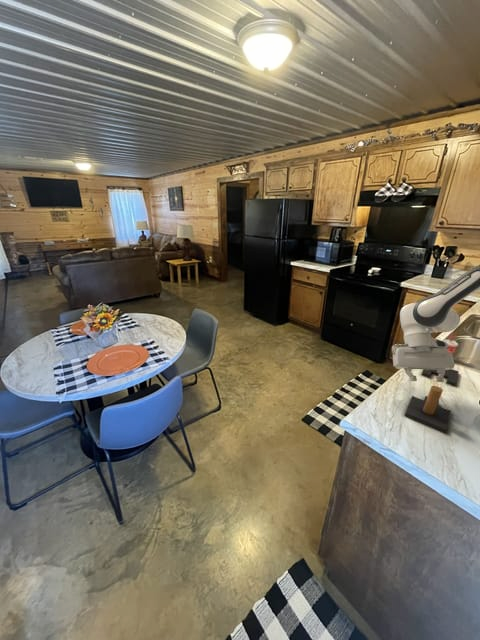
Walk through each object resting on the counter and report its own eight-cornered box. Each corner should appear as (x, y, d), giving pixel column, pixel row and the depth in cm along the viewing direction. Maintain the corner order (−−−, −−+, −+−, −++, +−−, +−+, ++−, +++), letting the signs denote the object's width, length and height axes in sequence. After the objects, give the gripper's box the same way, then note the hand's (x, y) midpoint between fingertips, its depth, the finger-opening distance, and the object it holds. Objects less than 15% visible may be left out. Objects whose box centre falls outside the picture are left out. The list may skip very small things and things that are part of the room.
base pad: (425, 364, 124) (426, 361, 124) (457, 374, 117) (458, 371, 116) (421, 375, 116) (422, 372, 115) (455, 386, 109) (456, 383, 108)
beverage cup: (455, 361, 127) (465, 335, 121) (443, 362, 126) (453, 336, 120) (445, 354, 132) (454, 329, 127) (433, 355, 132) (442, 330, 126)
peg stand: (413, 394, 104) (421, 370, 99) (450, 408, 97) (461, 382, 92) (404, 415, 93) (412, 389, 89) (445, 433, 86) (457, 405, 81)
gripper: (395, 341, 97) (402, 379, 91) (452, 342, 96) (462, 381, 91) (386, 346, 102) (393, 381, 97) (440, 347, 102) (449, 383, 97)
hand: (427, 381), depth 94 cm, fingers open, 8 cm apart
